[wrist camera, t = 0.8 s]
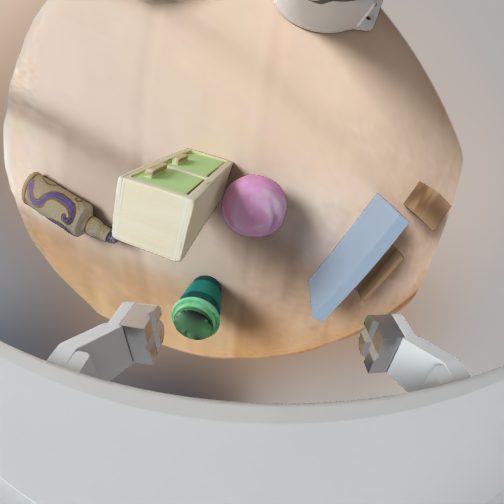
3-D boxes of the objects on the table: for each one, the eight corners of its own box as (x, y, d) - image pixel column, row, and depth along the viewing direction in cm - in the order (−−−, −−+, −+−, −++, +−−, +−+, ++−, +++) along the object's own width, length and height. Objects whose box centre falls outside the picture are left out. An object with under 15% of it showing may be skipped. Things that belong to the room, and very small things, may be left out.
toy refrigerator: (236, 157, 41) (197, 194, 22) (222, 199, 44) (179, 265, 26) (189, 142, 40) (117, 169, 22) (178, 184, 43) (109, 238, 25)
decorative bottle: (38, 197, 47) (19, 207, 41) (42, 167, 44) (21, 175, 38) (120, 250, 51) (103, 266, 45) (129, 219, 48) (111, 234, 42)
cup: (181, 282, 53) (159, 323, 42) (205, 257, 49) (185, 297, 39) (212, 307, 55) (198, 350, 44) (238, 284, 51) (227, 328, 41)
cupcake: (229, 216, 45) (216, 243, 36) (231, 165, 41) (216, 179, 32) (283, 221, 45) (283, 249, 36) (288, 169, 41) (290, 185, 32)
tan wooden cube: (419, 181, 38) (439, 193, 32) (433, 194, 39) (453, 208, 33) (403, 203, 41) (420, 218, 35) (417, 216, 41) (435, 232, 35)
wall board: (377, 192, 40) (399, 214, 32) (407, 218, 42) (433, 244, 33) (308, 280, 49) (312, 316, 41) (339, 298, 51) (348, 335, 42)
